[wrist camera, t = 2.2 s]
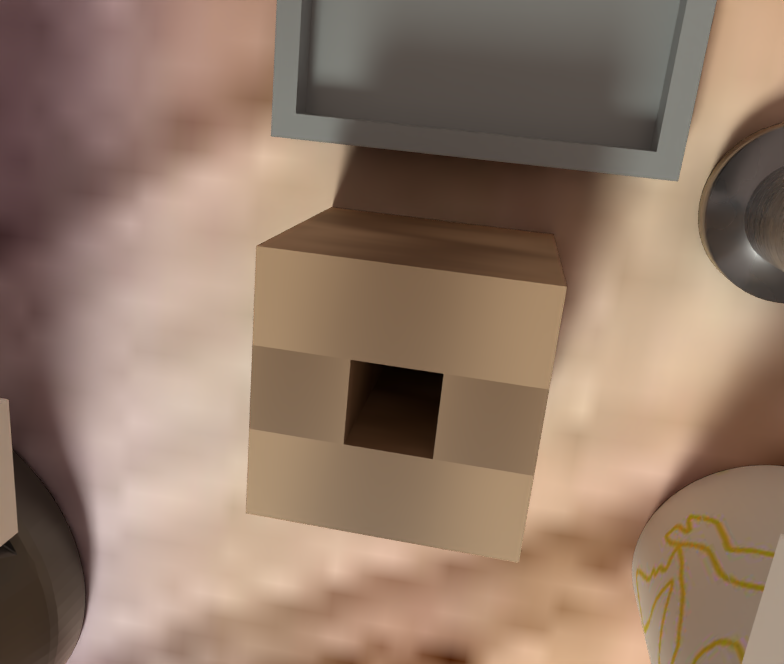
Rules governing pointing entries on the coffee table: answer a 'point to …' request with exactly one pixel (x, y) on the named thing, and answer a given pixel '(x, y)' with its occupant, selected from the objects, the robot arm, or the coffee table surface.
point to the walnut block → (402, 377)
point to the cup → (708, 565)
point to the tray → (496, 79)
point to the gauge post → (748, 214)
